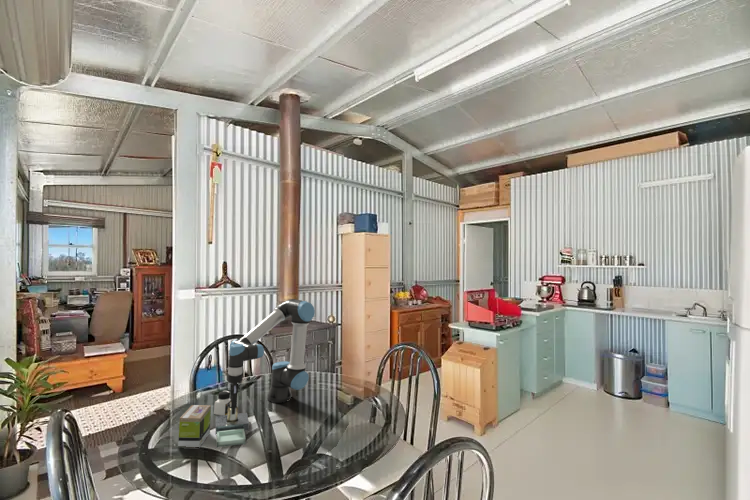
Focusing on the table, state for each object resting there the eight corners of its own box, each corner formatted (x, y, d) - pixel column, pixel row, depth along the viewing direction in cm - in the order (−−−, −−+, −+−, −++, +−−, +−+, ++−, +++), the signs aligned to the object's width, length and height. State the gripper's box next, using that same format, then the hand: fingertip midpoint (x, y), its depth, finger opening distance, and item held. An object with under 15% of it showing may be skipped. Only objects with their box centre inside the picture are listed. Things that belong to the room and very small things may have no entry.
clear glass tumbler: (236, 424, 204) (238, 405, 204) (237, 428, 200) (238, 409, 200) (226, 425, 202) (227, 406, 202) (226, 430, 197) (227, 411, 197)
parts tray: (243, 433, 195) (244, 428, 195) (245, 443, 185) (245, 438, 185) (216, 436, 190) (216, 431, 190) (216, 447, 180) (217, 442, 180)
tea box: (190, 432, 192) (192, 404, 192) (210, 433, 193) (212, 404, 193) (177, 448, 177) (179, 417, 177) (199, 449, 178) (201, 417, 178)
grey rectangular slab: (246, 419, 210) (247, 412, 210) (248, 430, 198) (248, 423, 198) (215, 423, 204) (216, 415, 204) (215, 434, 192) (216, 426, 192)
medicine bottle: (224, 416, 213) (226, 395, 213) (213, 414, 214) (215, 393, 214) (232, 411, 220) (233, 390, 220) (221, 409, 221) (222, 388, 221)
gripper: (227, 368, 208) (224, 410, 208) (228, 380, 191) (225, 425, 191) (241, 367, 211) (238, 409, 211) (243, 379, 194) (240, 424, 194)
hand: (232, 416), depth 201 cm, fingers open, 6 cm apart
